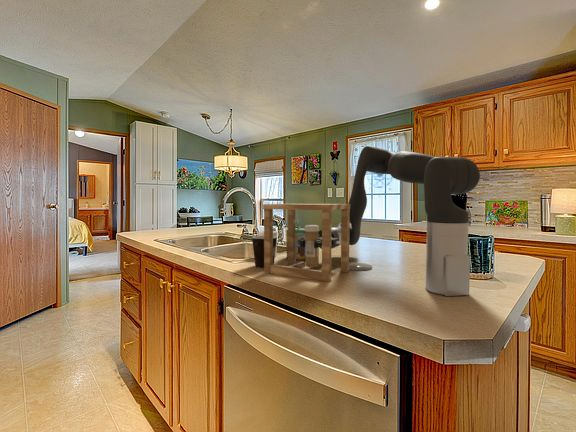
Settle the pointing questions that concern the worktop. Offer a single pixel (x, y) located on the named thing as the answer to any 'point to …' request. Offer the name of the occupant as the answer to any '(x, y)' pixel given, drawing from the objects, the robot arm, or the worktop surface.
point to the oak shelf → (294, 269)
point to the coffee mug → (261, 250)
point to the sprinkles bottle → (311, 246)
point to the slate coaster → (359, 266)
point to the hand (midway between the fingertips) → (308, 244)
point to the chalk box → (298, 243)
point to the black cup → (275, 233)
